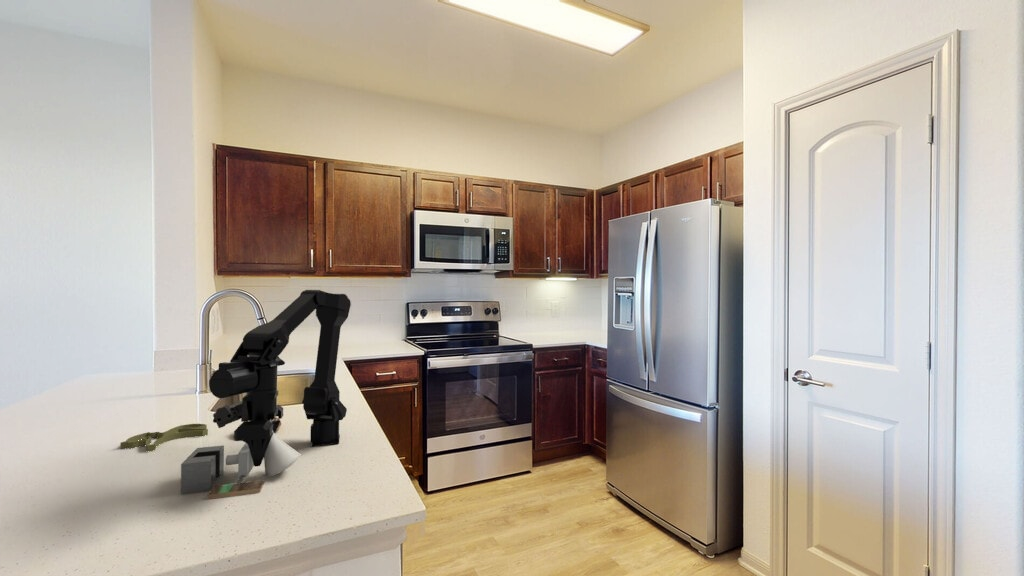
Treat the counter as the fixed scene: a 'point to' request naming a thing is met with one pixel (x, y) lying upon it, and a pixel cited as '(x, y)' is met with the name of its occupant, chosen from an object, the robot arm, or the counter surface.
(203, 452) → the gauge housing
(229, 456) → the gauge plunger
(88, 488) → the counter surface
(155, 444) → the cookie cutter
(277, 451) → the flask
